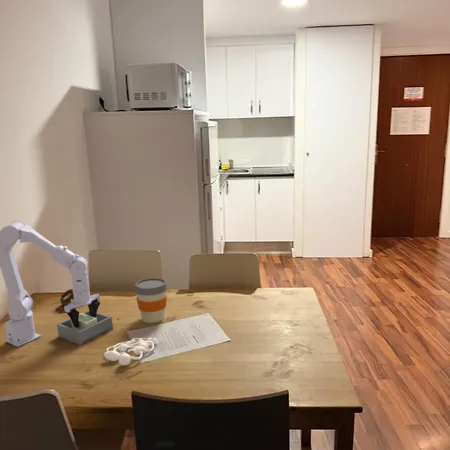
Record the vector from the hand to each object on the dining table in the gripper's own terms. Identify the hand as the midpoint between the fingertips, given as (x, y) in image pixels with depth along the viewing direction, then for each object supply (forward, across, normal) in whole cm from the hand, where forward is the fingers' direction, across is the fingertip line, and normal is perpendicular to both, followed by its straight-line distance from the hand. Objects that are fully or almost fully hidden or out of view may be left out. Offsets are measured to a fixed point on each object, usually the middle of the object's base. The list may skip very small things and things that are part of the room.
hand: (84, 323), depth 168 cm
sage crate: (+3, 0, 0) cm, 3 cm away
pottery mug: (+4, +16, +28) cm, 32 cm away
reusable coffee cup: (+4, +23, -13) cm, 27 cm away
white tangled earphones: (+4, -2, -26) cm, 26 cm away
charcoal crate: (+4, 0, 0) cm, 4 cm away
